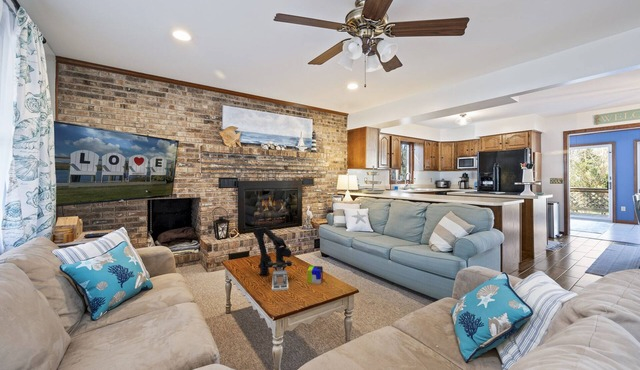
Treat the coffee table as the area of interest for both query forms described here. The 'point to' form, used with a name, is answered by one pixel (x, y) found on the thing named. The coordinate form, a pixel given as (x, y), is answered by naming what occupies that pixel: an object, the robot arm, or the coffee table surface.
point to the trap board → (281, 286)
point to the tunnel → (278, 273)
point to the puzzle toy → (315, 274)
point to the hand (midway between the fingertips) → (279, 274)
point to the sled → (279, 278)
